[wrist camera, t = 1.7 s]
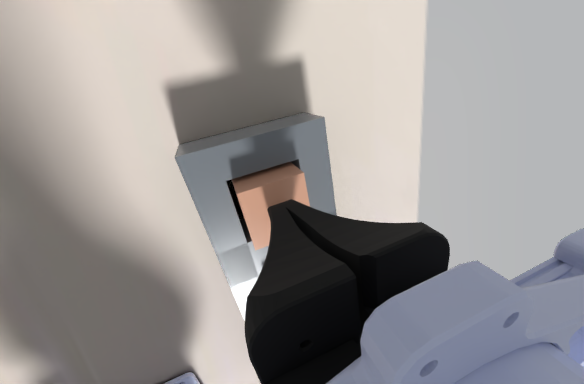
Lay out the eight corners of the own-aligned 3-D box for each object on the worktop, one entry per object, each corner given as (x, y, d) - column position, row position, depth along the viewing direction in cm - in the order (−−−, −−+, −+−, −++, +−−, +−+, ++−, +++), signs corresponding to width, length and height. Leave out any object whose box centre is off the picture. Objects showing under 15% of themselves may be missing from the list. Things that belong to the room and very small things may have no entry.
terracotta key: (246, 224, 16) (255, 250, 13) (229, 175, 14) (236, 194, 12) (296, 206, 17) (313, 228, 14) (285, 158, 15) (304, 172, 13)
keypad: (266, 358, 24) (274, 391, 21) (179, 144, 14) (174, 157, 12) (337, 323, 26) (353, 350, 23) (303, 112, 16) (324, 117, 13)
